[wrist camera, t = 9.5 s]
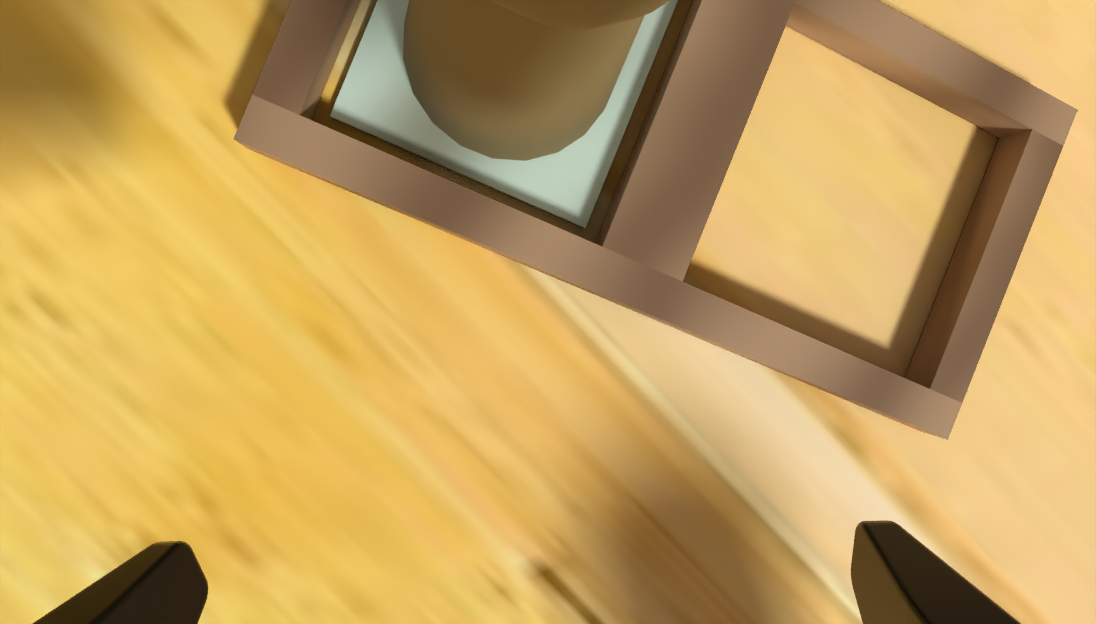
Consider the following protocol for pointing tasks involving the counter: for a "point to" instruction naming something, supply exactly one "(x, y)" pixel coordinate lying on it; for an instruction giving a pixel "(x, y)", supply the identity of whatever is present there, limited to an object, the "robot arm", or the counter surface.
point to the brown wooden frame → (676, 172)
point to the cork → (518, 68)
